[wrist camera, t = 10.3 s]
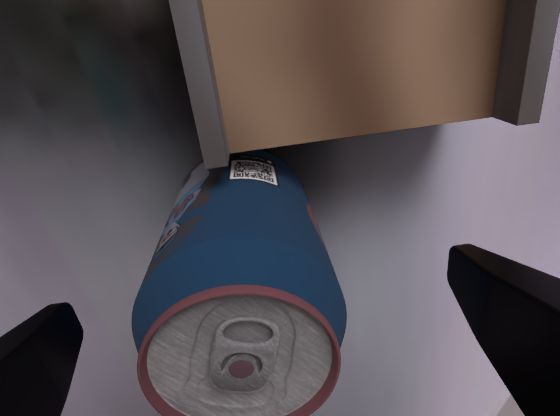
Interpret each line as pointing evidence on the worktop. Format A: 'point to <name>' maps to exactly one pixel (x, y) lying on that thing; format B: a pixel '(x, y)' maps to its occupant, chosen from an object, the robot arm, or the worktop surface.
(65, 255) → the worktop surface
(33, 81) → the worktop surface
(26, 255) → the worktop surface
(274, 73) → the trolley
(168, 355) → the soda can
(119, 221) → the worktop surface
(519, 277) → the robot arm
